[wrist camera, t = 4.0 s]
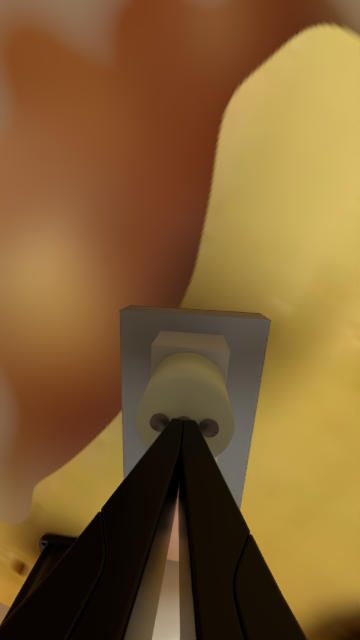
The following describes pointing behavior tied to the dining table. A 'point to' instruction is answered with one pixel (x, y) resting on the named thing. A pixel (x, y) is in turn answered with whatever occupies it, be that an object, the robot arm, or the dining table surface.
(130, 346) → the grey button panel
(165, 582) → the cream key
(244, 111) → the dining table surface
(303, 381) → the dining table surface
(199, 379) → the sage key
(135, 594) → the robot arm
